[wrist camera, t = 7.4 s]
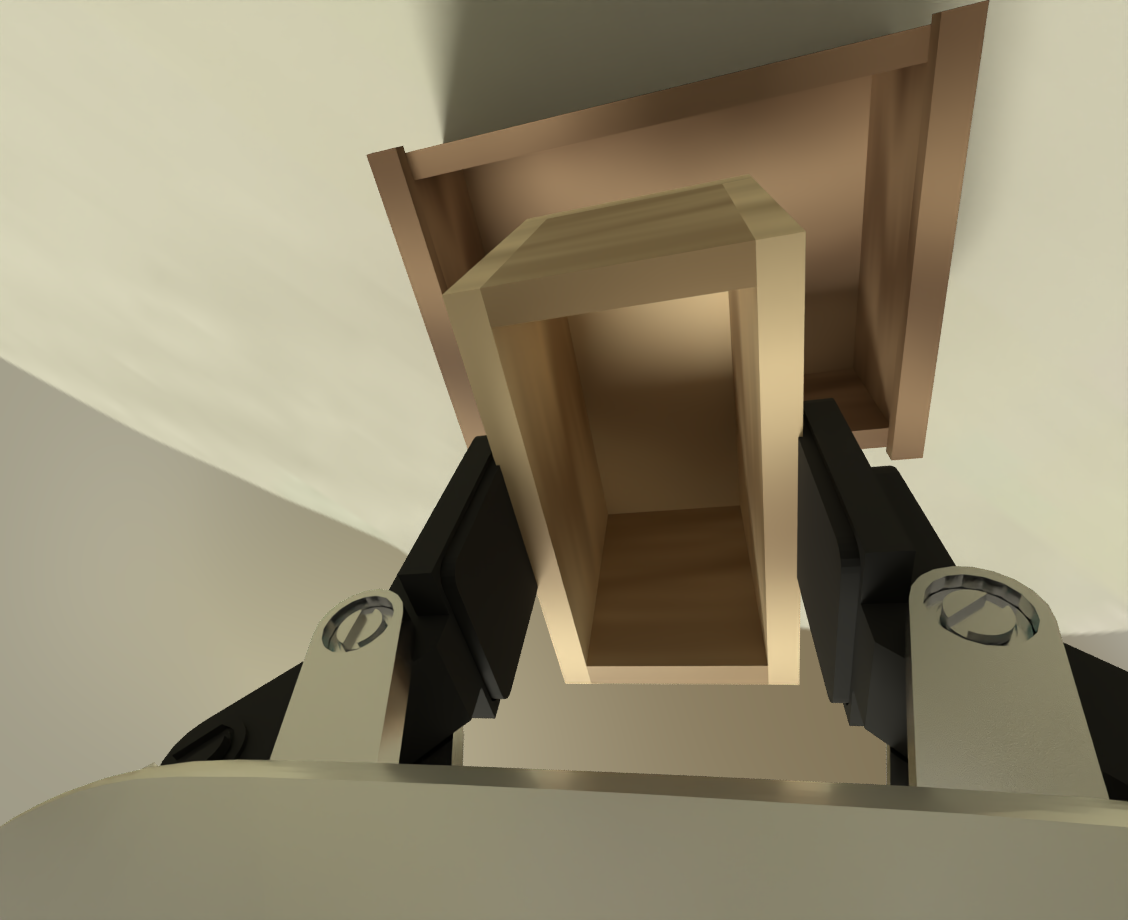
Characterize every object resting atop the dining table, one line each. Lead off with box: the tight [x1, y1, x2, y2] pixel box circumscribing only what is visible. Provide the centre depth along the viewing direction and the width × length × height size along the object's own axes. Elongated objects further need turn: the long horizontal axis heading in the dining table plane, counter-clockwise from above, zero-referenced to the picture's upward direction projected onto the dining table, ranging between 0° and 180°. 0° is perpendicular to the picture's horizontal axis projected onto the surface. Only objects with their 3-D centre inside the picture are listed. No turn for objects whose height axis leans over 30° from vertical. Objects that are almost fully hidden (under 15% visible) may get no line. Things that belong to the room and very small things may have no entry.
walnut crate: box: [367, 0, 989, 460], centre depth 21 cm, size 13×17×7 cm
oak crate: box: [442, 174, 806, 685], centre depth 12 cm, size 9×5×6 cm, turn 12°
